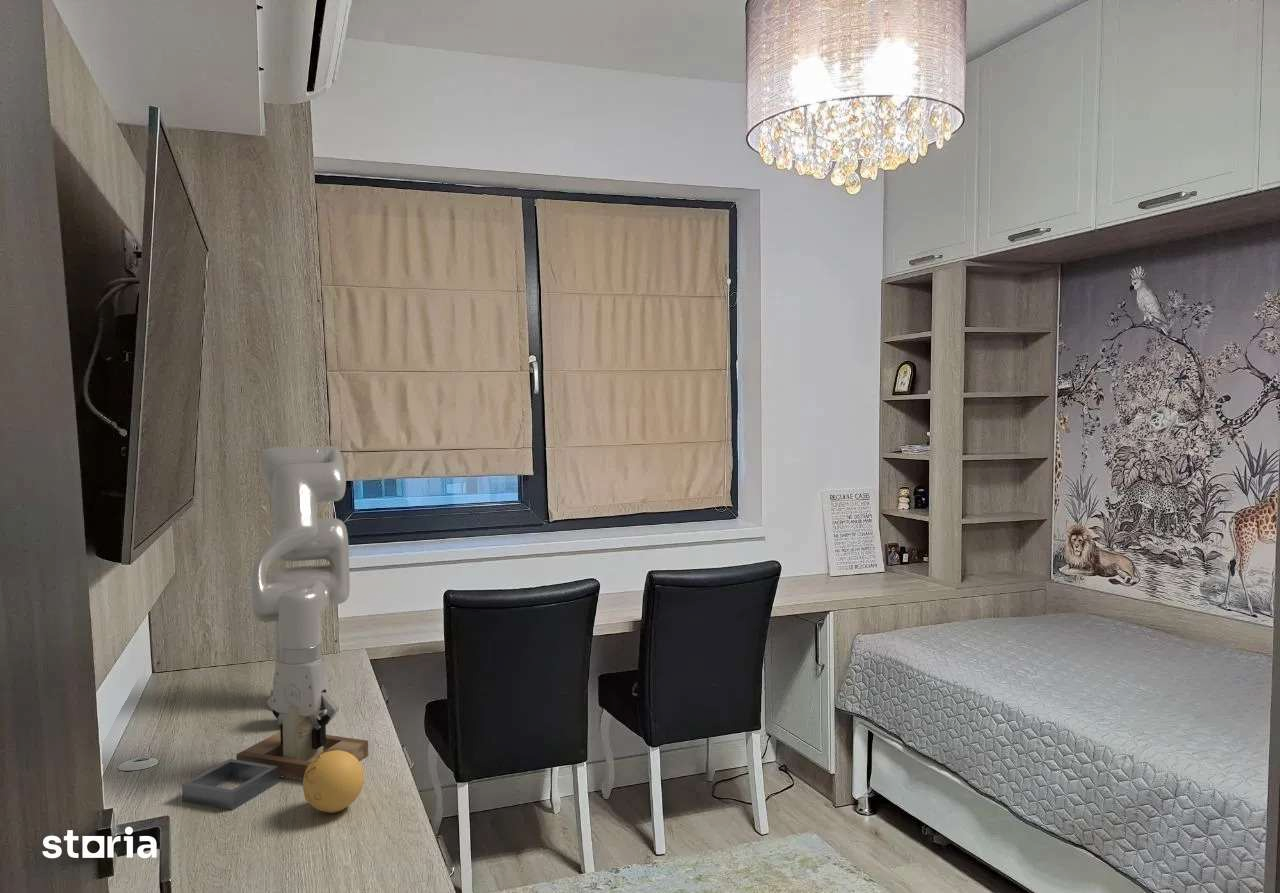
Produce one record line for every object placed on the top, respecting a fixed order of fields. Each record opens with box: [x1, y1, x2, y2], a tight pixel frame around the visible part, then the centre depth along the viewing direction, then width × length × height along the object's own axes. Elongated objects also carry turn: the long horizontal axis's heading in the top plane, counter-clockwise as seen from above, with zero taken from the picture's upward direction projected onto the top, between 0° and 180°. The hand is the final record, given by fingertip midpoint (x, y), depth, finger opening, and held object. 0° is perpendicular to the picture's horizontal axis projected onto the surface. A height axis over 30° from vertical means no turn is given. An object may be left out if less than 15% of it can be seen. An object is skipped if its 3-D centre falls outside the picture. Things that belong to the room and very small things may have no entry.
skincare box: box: [282, 706, 323, 761], centre depth 163 cm, size 6×4×12 cm
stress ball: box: [302, 750, 365, 814], centre depth 144 cm, size 10×10×10 cm
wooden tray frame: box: [236, 731, 369, 781], centre depth 163 cm, size 13×20×3 cm, turn 72°
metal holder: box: [181, 758, 280, 811], centre depth 151 cm, size 11×11×3 cm
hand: (303, 743), depth 163 cm, fingers open, 6 cm apart
